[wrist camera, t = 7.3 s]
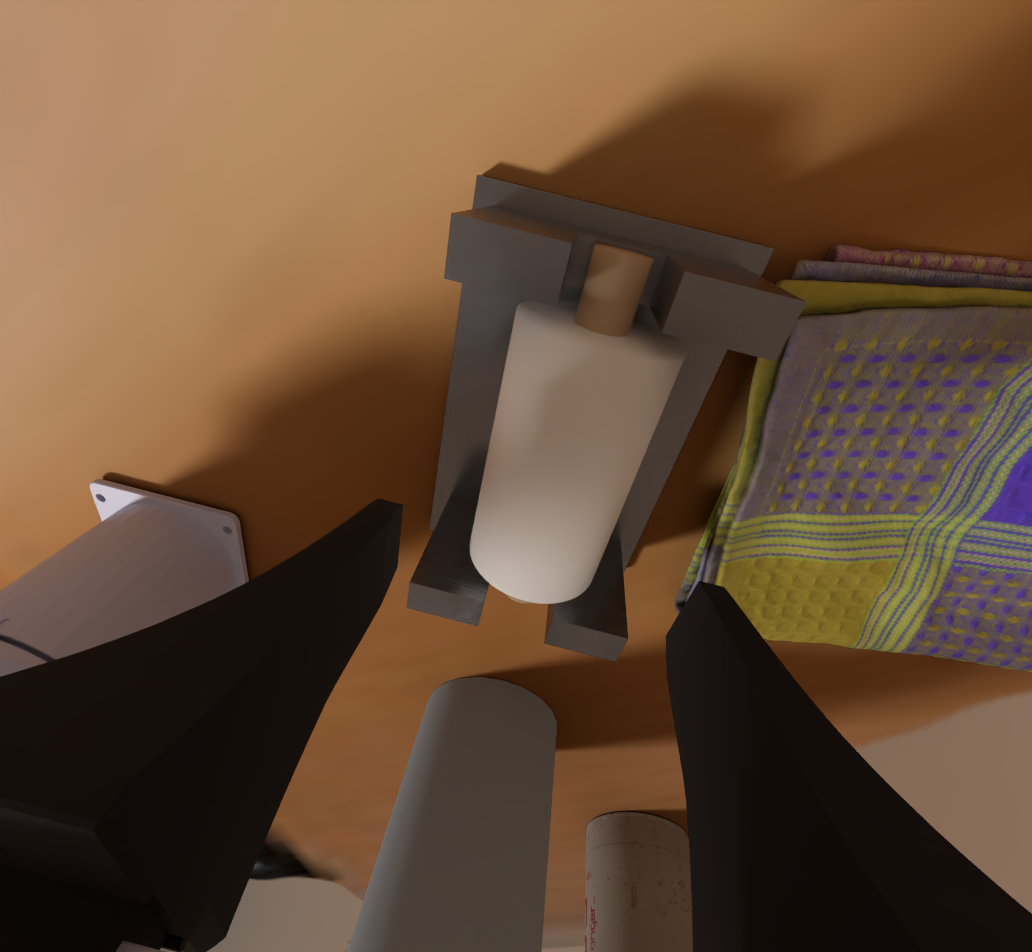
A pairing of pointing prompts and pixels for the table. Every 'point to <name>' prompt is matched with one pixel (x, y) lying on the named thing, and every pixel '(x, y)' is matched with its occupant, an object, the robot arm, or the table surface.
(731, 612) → the robot arm
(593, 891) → the thermos bottle
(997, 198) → the table surface
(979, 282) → the dish towel
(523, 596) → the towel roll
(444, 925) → the spray bottle
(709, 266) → the roll holder
